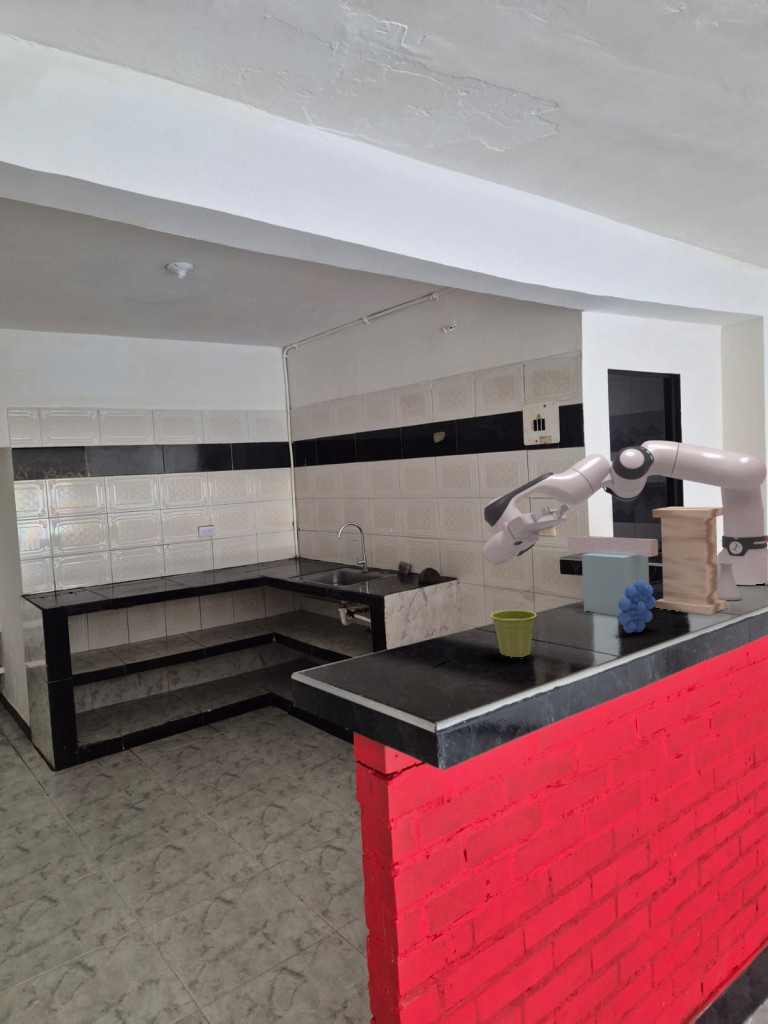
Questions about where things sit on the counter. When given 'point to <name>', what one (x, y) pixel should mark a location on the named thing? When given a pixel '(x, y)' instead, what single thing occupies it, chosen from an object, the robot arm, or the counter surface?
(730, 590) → the flask
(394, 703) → the counter surface
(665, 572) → the birch stand
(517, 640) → the plant pot
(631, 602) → the grapes
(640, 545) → the pink bar
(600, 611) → the block
